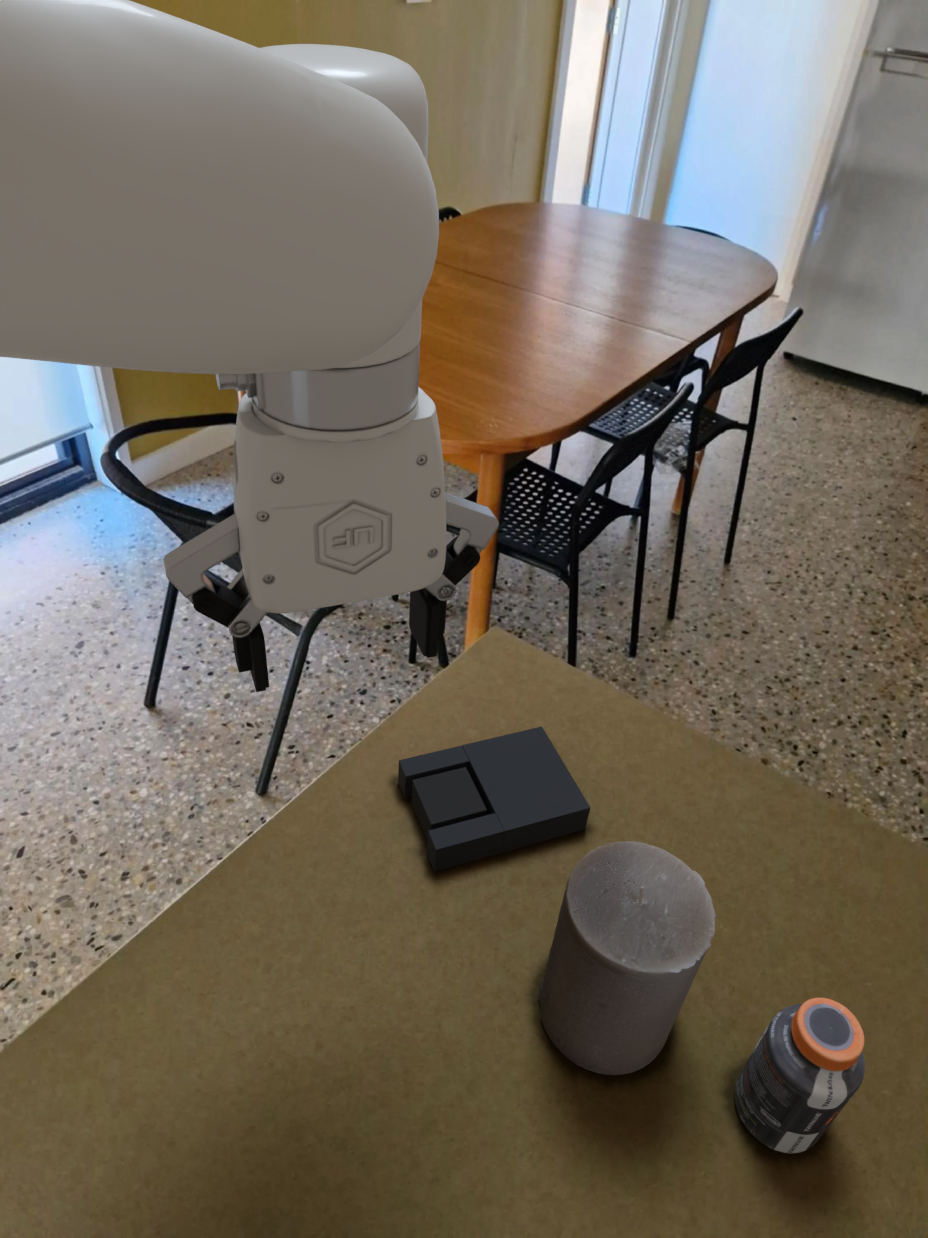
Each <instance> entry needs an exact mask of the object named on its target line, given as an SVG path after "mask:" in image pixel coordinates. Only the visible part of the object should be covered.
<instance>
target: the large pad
mask: <svg viewBox="0 0 928 1238" xmlns="http://www.w3.org/2000/svg"><path fill="white" fill-rule="evenodd" d="M464 767H466V768H467V770H468V772H469V774H470V776H471V778H472V780H473V782H474V784H475V787H476V789H477V791H478V793H479V795H480V797H481V799H482V801H483V803H484V805H485V807H486V809H487V813H486V816H482V817H478V818H474V819H471V820H467V821H463V822H459V823H456V824H452V825H448V826H444V827H440V828H437V829H433V830H429V831H428V841H427V840H426V841H427V843H426V855H427V857H428V860H429V862H430V864H431V868H432V869H433V872H438V871H442V870H445V869H449V868H453V867H456V866H460V865H464V864H467V863H471V862H475V861H477V860H481V859H484V858H489V857H492V856H495V855H499V854H503V853H507V852H510V851H514V850H516V849H520V848H524V847H528V846H531V845H535V844H538V843H542V842H545V841H550V840H553V839H556V838H560V837H563V836H566V835H570V834H575V833H577V832H578V833H579V832H581V831H584V830H586V827H587V823H588V821H589V820H588V819H589V815H590V812H591V806H590V804H589V803H588V801H587V799H586V798H585V796H584V794H583V793H582V791H581V789H580V787H579V786H578V784H577V783H576V781H575V779H574V778H573V775H572V774H571V773H570V771H569V769H568V767H567V766H566V764H565V763H564V761H563V759H562V758H561V756H560V754H559V752H558V751H557V749H556V747H555V746H554V744H553V742H552V741H551V739H550V737H549V736H548V734H547V732H546V730H545V729H544V728H543V726H537V727H534V728H529V729H525V730H520V731H516V732H512V733H507V734H503V735H500V736H495V737H491V738H487V739H482V740H478V741H474V742H469V743H465V744H462V745H458V746H457V745H456V746H453V747H449V748H446V749H445V748H444V749H441V750H437V751H436V750H435V751H432V752H428V753H427V752H426V753H423V754H420V755H415V756H411V757H406V758H402V759H399V760H398V769H397V770H398V771H397V772H398V773H397V777H398V778H397V783H398V785H399V789H400V791H401V793H402V795H403V798H404V799H407V798H412V780H415V779H419V778H423V777H427V776H431V775H435V774H439V773H443V772H447V771H452V770H456V769H460V768H464Z"/></svg>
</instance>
